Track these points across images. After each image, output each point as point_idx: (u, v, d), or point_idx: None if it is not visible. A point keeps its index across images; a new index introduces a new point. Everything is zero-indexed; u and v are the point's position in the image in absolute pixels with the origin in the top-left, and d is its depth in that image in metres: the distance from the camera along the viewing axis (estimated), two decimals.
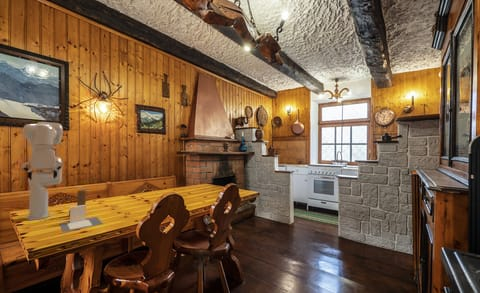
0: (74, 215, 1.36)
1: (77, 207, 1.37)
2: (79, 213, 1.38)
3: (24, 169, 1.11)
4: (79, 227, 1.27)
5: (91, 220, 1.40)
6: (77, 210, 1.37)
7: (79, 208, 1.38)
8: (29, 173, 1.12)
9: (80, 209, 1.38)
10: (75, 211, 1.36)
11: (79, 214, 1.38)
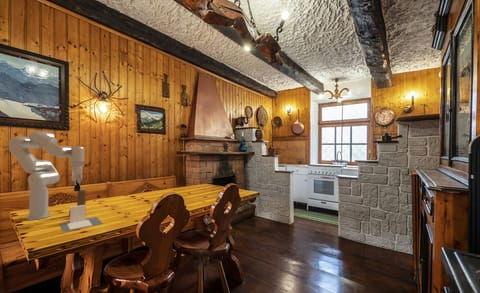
0: (74, 215, 1.36)
1: (77, 207, 1.37)
2: (79, 213, 1.38)
3: (79, 183, 1.44)
4: (79, 227, 1.27)
5: (91, 220, 1.40)
6: (77, 210, 1.37)
7: (79, 208, 1.38)
8: (78, 186, 1.45)
9: (80, 209, 1.38)
10: (75, 211, 1.36)
11: (79, 214, 1.38)
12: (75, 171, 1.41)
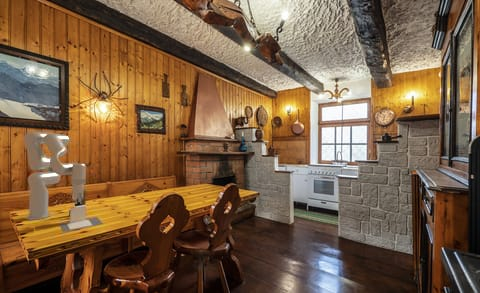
0: (74, 215, 1.36)
1: (78, 208, 1.36)
2: (79, 213, 1.37)
3: (80, 201, 1.38)
4: (79, 227, 1.27)
5: (91, 220, 1.40)
6: (77, 210, 1.36)
7: (79, 209, 1.37)
8: (79, 204, 1.39)
9: (80, 209, 1.37)
10: (75, 211, 1.36)
11: (79, 214, 1.37)
12: (76, 190, 1.35)
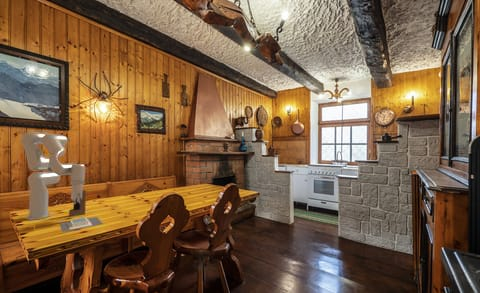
0: None
1: None
2: None
3: (79, 201, 1.40)
4: (79, 227, 1.27)
5: (91, 220, 1.40)
6: None
7: None
8: None
9: None
10: None
11: None
12: (75, 190, 1.37)
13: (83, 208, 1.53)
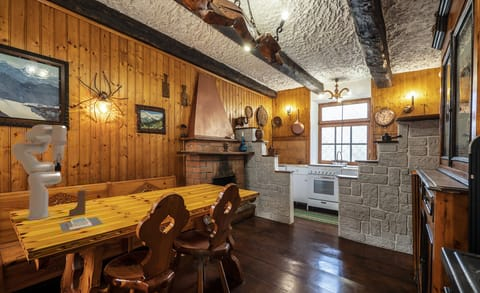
0: None
1: None
2: None
3: (60, 163, 1.38)
4: (79, 227, 1.27)
5: (91, 220, 1.40)
6: None
7: None
8: (59, 166, 1.40)
9: None
10: None
11: None
12: (55, 150, 1.35)
13: (83, 208, 1.53)
